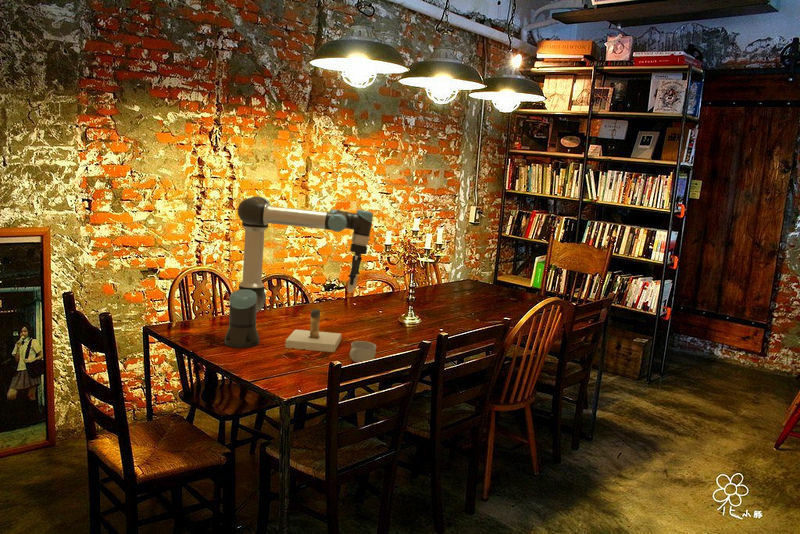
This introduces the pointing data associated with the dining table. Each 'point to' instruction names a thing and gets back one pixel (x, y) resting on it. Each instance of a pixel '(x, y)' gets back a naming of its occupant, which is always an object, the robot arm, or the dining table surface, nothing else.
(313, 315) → the plug
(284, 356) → the dining table surface
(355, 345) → the teacup
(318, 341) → the beige socket block
